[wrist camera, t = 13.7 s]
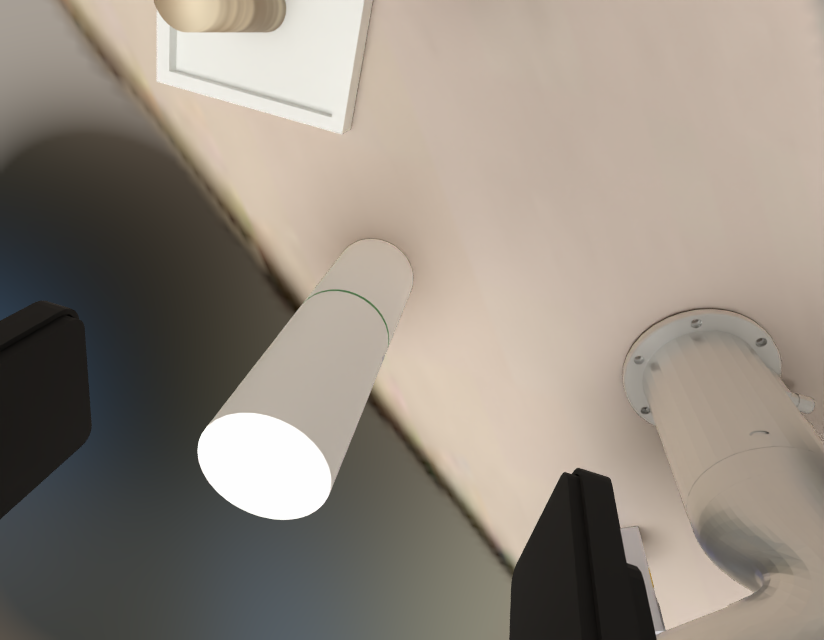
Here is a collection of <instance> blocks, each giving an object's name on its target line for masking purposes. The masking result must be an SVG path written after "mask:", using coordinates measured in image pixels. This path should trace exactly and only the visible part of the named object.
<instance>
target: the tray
mask: <svg viewBox="0 0 824 640" xmlns="http://www.w3.org/2000/svg"><path fill="white" fill-rule="evenodd" d="M285 2H286V15H285V19H284V21H283V23H282V24H281V26H280V27H279V28H278V29H276V30H274V31H272V32H181V31H178V30H176V29H174V28H172V27H171V26H170V25H168V24H167V23H166V22H165V21H164V20H163V18H162V17H161V15H160V14H159V12H158V10H157V82H160V83H163V84H167V85H170V86H174V87H177V88H181V89H184V90H188V91H191V92H195V93H198V94H202V95H205V96H209V97H212V98H216V99H219V100H223V101H226V102H230V103H233V104H237V105H240V106H244V107H247V108H251V109H254V110H258V111H261V112H265V113H268V114H272V115H275V116H279V117H282V118H286V119H289V120H293V121H297V122H300V123H304V124H307V125H311V126H314V127H318V128H321V129H325V130H328V131H332V132H335V133H339V134H344V133H345V132H347V131H349V130H350V129H351V124H352V119H353V113H354V107H355V101H356V96H357V90H358V84H359V78H360V73H361V67H362V61H363V55H364V50H365V44H366V38H367V32H368V27H369V21H370V15H371V9H372V4H373V0H285Z"/></svg>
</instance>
